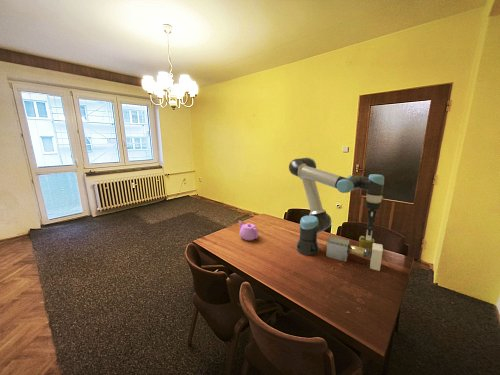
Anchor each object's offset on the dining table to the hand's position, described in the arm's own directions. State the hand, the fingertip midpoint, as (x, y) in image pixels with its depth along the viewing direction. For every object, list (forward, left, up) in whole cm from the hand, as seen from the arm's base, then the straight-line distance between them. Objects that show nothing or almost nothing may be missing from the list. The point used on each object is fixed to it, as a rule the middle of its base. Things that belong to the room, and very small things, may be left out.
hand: (368, 235), depth 124 cm
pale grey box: (-16, 0, -19) cm, 25 cm away
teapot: (-81, -7, -19) cm, 84 cm away
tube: (-4, 0, -14) cm, 15 cm away
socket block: (+5, 0, -19) cm, 19 cm away
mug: (-1, +20, -19) cm, 27 cm away
